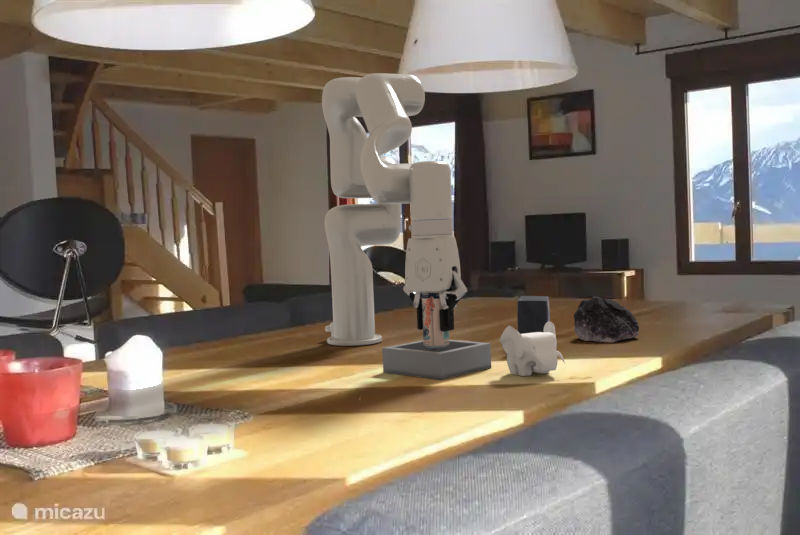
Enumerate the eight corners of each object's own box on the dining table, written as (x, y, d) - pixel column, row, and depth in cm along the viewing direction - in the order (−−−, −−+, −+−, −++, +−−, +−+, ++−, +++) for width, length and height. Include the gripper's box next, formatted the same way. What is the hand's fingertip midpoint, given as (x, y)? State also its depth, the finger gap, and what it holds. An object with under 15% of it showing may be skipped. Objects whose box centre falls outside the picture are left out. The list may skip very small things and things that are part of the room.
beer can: (422, 345, 160) (419, 281, 160) (447, 344, 161) (445, 280, 160) (425, 349, 156) (422, 282, 155) (451, 348, 156) (448, 281, 155)
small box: (549, 351, 176) (547, 299, 175) (517, 351, 177) (515, 300, 176) (551, 343, 186) (549, 294, 185) (520, 343, 187) (518, 295, 187)
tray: (383, 372, 158) (382, 347, 158) (433, 361, 168) (433, 338, 168) (441, 379, 148) (440, 353, 148) (491, 367, 159) (490, 343, 158)
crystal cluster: (650, 343, 185) (650, 297, 186) (593, 343, 182) (594, 295, 182) (617, 340, 198) (618, 297, 199) (564, 340, 194) (564, 295, 195)
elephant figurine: (532, 383, 143) (530, 329, 142) (491, 373, 153) (490, 323, 153) (578, 376, 147) (576, 324, 147) (535, 367, 158) (534, 318, 157)
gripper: (384, 231, 160) (388, 329, 161) (454, 229, 148) (458, 335, 149) (411, 230, 166) (415, 324, 167) (481, 228, 154) (485, 329, 155)
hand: (435, 328), depth 158 cm, fingers closed on beer can, 4 cm apart
